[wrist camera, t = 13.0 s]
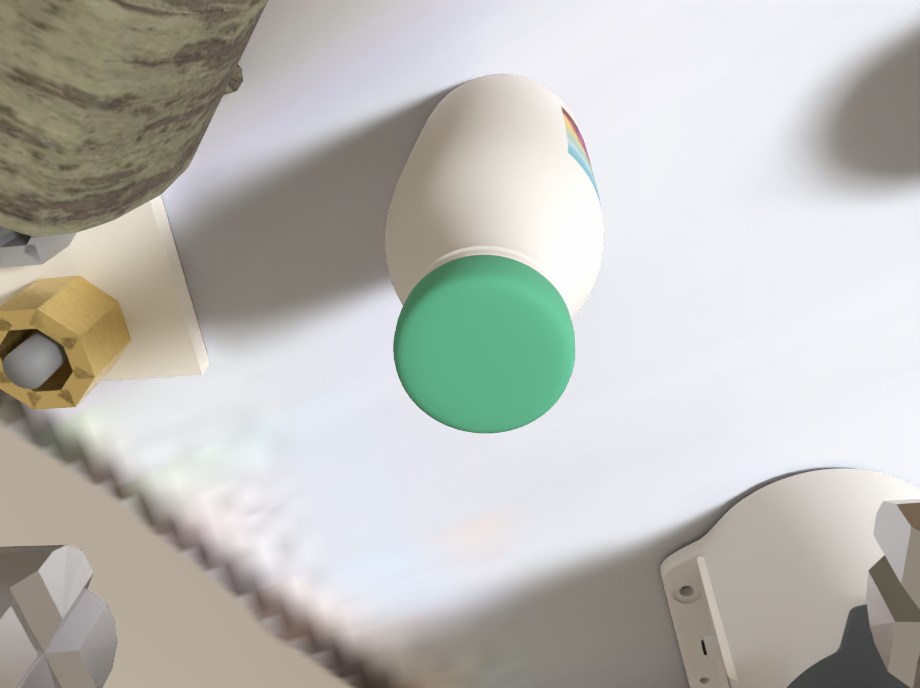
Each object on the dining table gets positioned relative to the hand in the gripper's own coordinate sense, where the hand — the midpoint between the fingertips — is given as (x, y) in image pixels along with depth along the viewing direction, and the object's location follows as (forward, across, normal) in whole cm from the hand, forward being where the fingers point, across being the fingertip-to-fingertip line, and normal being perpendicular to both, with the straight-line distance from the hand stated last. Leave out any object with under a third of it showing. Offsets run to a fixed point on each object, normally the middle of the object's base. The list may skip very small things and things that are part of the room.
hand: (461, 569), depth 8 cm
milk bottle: (+31, +1, +3) cm, 31 cm away
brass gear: (+30, +24, +9) cm, 39 cm away
